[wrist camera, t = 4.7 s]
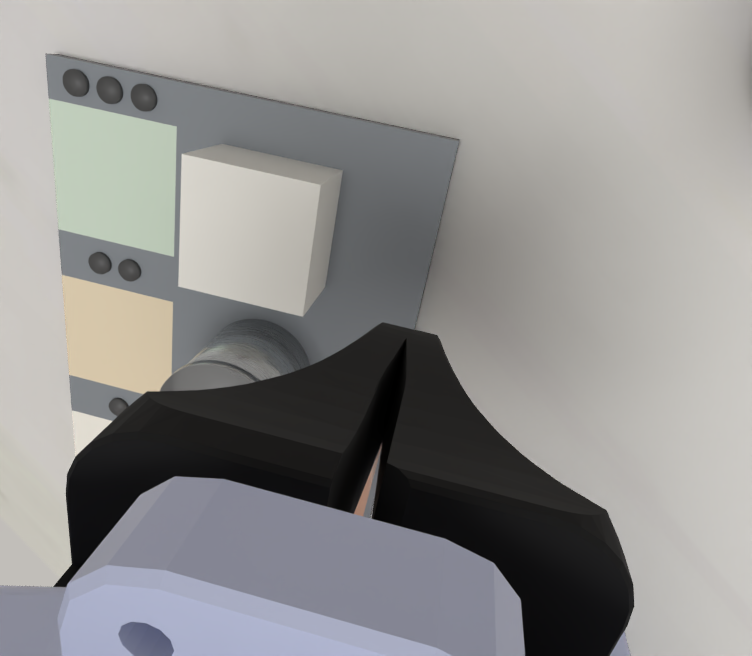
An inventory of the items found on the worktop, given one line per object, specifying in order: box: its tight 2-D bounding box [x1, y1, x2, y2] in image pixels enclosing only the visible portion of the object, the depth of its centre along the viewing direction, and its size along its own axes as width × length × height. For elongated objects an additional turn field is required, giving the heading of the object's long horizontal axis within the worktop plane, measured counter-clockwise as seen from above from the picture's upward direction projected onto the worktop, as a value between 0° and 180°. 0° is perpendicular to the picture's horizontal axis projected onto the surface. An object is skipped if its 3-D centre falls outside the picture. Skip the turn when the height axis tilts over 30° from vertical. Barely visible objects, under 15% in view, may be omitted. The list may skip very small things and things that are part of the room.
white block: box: [178, 144, 343, 317], centre depth 19 cm, size 4×4×3 cm
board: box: [46, 54, 459, 518], centre depth 24 cm, size 15×22×1 cm
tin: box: [160, 319, 310, 391], centre depth 21 cm, size 5×5×4 cm
